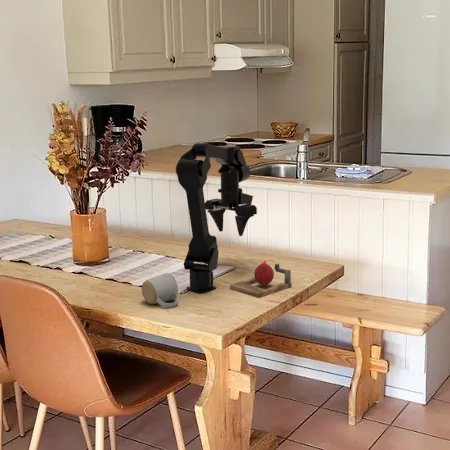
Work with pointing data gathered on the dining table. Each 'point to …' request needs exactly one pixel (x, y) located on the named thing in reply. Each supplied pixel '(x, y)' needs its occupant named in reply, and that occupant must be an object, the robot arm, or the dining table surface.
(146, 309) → the dining table surface
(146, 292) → the ceramic mug
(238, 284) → the walnut board
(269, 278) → the onion
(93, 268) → the dining table surface
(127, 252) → the dining table surface
